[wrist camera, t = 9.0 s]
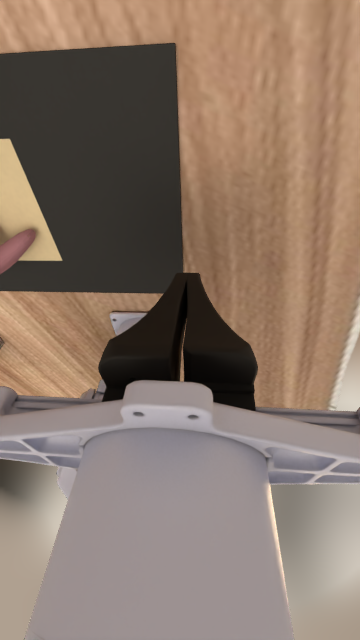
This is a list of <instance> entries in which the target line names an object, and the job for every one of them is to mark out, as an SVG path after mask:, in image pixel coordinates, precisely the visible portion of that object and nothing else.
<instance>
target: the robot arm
mask: <svg viewBox="0 0 360 640" xmlns="http://www.w3.org/2000/svg"><path fill="white" fill-rule="evenodd" d="M110 319H111V322H112V325H113V328H114V331H115V334H116V337H114V338H113V339H111V340H109V342H108V344H107V346H106V348H105V350H104V352H103V355H102V357H101V360H100V363H99V367H98V369H99V373H100V375H101V377H102V380H100V382H99V385H98V388H97V391H96V393H95V389H92V388H90V389H89V390H88V391H86V392H84V393H83V394H82V395H81V397H80V398H64V397H43V396H23V395H17V393H16V392H15V391H14V390H13V389H11V388H9V387H5V386H0V459H8V460H17V461H24V462H32V463H38V464H46V465H51V466H58V470H57V473H56V474H57V476H58V480H57V484H58V486H59V488H60V489H61V490H62V492H63V494H64V495H65V496H66V498H67V499H68V502H67V505H66V508H65V511H64V515H63V518H62V521H61V524H60V528H59V530H58V534H57V537H56V540H55V543H54V546H53V550H52V553H51V556H50V559H49V562H48V565H47V568H46V571H45V575H44V578H43V581H42V584H41V587H40V591H39V594H38V597H37V600H36V603H35V606H34V609H33V613H32V616H31V619H30V622H29V625H28V628H27V631H26V635H25V638H24V640H294V635H293V629H292V622H291V617H290V610H289V603H288V597H287V591H286V585H285V579H284V572H283V566H282V559H281V553H280V546H279V540H278V534H277V528H276V522H275V515H274V508H273V502H272V496H271V489H270V484H360V408H359V409H358V410H357V411H356V412H350V411H331V410H310V409H289V408H269V407H255V400H254V391H255V390H254V381H255V378H256V375H257V371H258V366H257V362H256V359H255V356H254V353H253V351H252V349H251V346H250V344H248V343H247V342H246V341H244V340H243V339H242V338H241V337H239V336H238V335H237V334H236V333H235V332H234V331H233V330H232V329H231V328H230V327H229V326H228V325H227V324H226V323H225V322H224V320H223V319H222V318H221V317H220V315H219V314H218V313H217V311H216V310H215V308H214V307H213V305H212V303H211V302H210V300H209V298H208V296H207V294H206V292H205V290H204V287H203V285H202V282H201V278H200V274H199V273H176V274H175V276H174V278H173V280H172V282H171V283H170V285H169V287H168V288H167V290H166V291H165V293H164V294H163V296H162V297H161V298H160V300H159V301H158V302H157V303H156V305H155V306H154V307H153V308H152V309H151V310H150V311H149V312H148V313H133V312H111V313H110ZM186 320H187V322H186ZM185 326H186V330H185ZM184 332H185V338H184ZM183 338H184V344H183ZM182 344H183V358H184V382H180V368H181V352H182Z"/></svg>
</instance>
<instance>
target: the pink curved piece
mask: <svg viewBox="0 0 360 640" xmlns="http://www.w3.org/2000/svg"><path fill="white" fill-rule="evenodd" d="M35 237H36V233H35V231H34V230H32V229H28V230H25V231H22V232H20V233H18V234H17V235H15V236H14V237H12V238H11V239H9V240H7V241H6V242H5V243H3V244H2V245H0V274H1V273H3V272H4V271H6V270H7V269H9V268H10V267H11V266H12V265H13V264H15V263H16V262H17V261H18V260H19V259H20V257H21V256H22V255H23V254H24V253H25V252H26V251H27V249H28V248H29V247H30V246H31V245H32V243H33V242H34V240H35Z"/></svg>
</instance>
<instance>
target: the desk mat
mask: <svg viewBox="0 0 360 640" xmlns="http://www.w3.org/2000/svg"><path fill="white" fill-rule="evenodd" d="M28 229H32V230H34V231H35V233H36V237H35V240H34V242H33V243H32V245H31V246H30V247H29V248H28V249H27V251H26V252H25V253H24V254H23V255H22V256H21V257H20V259H19V260H18V261H17V262H16V263H15V264H13V265H12V266H11V267H10V268H9V269H7V270H6V271H4V272H3V273H1V274H0V291H34V292H100V293H165V291H166V290H167V288H168V287H169V285H170V283H171V282H172V280H173V278H174V276H175V274H176V273H183V253H182V224H181V194H180V164H179V134H178V105H177V75H176V45H175V43H167V44H151V45H135V46H119V47H103V48H87V49H70V50H54V51H38V52H22V53H6V54H0V245H2V244H3V243H5V242H6V241H7V240H9V239H11V238H12V237H14V236H15V235H17V234H18V233H20V232H22V231H25V230H28Z"/></svg>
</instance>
